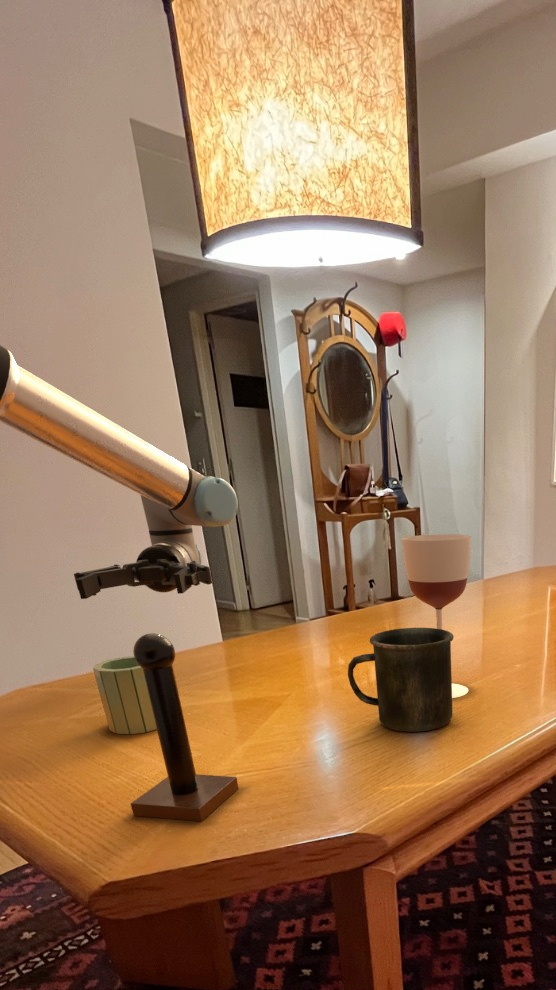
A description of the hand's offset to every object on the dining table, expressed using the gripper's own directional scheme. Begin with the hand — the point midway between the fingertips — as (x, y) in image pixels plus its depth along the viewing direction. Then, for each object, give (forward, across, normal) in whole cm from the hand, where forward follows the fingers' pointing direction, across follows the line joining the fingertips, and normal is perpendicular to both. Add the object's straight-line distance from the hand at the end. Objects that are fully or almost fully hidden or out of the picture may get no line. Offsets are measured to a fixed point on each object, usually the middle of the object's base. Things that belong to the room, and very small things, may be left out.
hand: (130, 586), depth 98 cm
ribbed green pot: (+10, 0, -18) cm, 20 cm away
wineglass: (+4, -45, -18) cm, 48 cm away
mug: (+17, -38, -18) cm, 45 cm away
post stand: (+38, -12, -18) cm, 43 cm away
